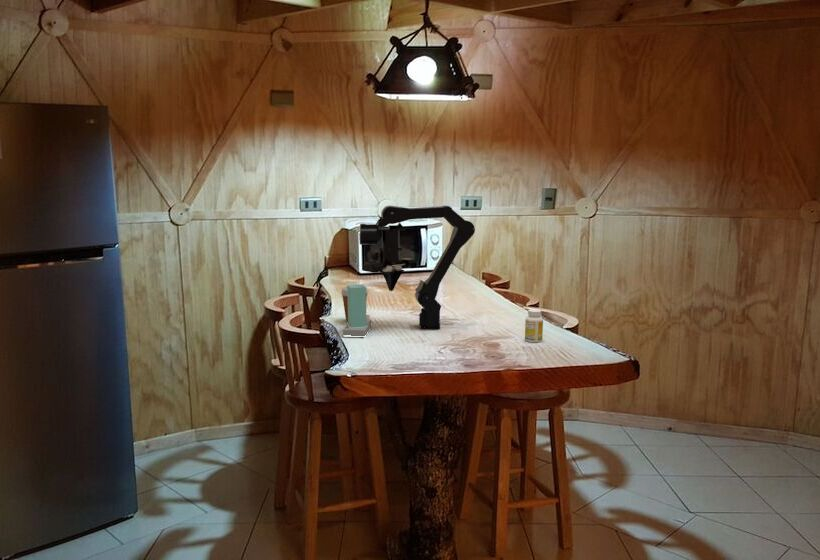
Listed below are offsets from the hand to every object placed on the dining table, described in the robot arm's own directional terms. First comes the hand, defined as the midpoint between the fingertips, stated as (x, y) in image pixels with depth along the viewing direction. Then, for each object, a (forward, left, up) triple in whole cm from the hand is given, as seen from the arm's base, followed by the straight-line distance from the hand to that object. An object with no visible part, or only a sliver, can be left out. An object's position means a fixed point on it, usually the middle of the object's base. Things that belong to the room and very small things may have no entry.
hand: (391, 290), depth 208 cm
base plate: (+10, +6, -13) cm, 18 cm away
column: (+10, +7, -10) cm, 16 cm away
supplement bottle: (-46, +12, -13) cm, 49 cm away
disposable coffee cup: (+14, -9, -13) cm, 21 cm away
